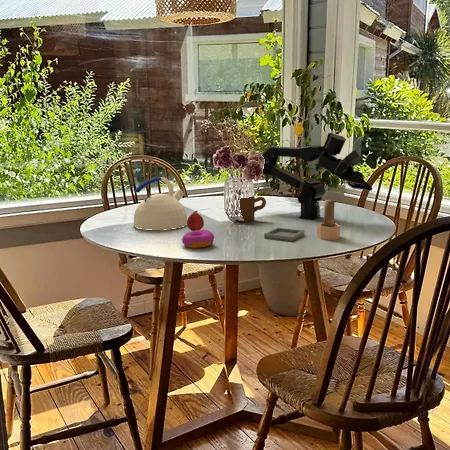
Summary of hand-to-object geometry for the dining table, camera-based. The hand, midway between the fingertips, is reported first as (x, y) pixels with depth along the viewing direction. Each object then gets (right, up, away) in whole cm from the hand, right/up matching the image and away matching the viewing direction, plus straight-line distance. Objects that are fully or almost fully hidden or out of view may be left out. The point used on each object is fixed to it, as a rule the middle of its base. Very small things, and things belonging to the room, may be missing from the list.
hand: (368, 186), depth 185 cm
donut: (-59, -20, -19) cm, 65 cm away
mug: (-41, -12, +16) cm, 45 cm away
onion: (-61, -17, -3) cm, 63 cm away
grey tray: (-31, -18, -11) cm, 37 cm away
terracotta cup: (-17, -18, -13) cm, 28 cm away
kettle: (-74, -14, +11) cm, 76 cm away
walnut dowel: (-17, -18, -13) cm, 27 cm away
